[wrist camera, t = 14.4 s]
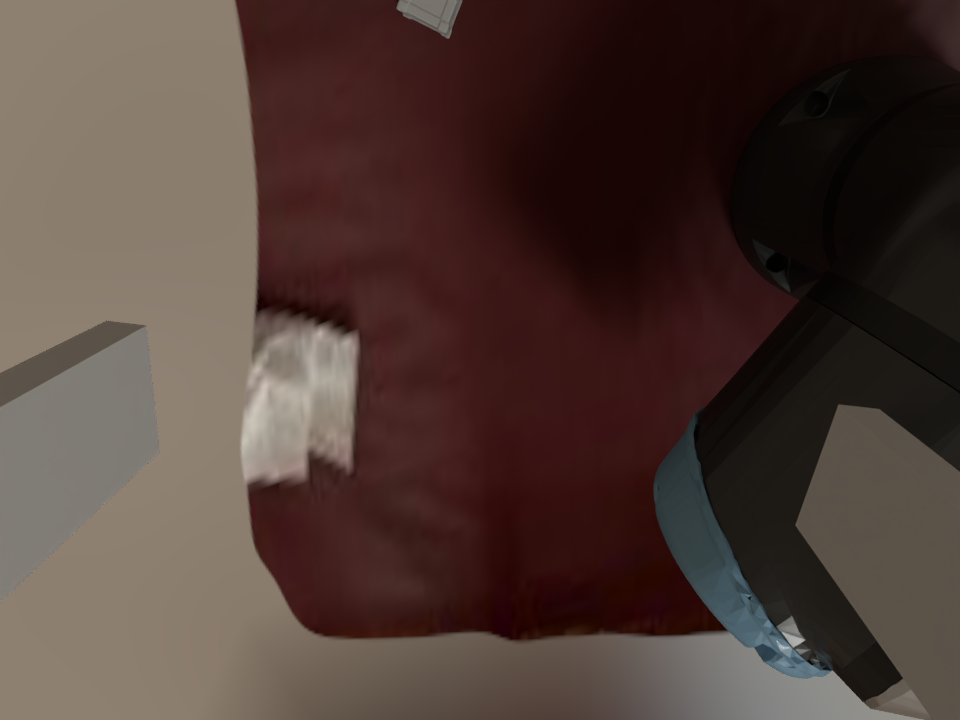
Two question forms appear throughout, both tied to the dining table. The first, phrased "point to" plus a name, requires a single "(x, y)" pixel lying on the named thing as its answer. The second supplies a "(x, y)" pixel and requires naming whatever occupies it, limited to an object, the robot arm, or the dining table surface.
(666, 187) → the dining table surface
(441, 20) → the toy set
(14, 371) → the robot arm
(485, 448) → the dining table surface
